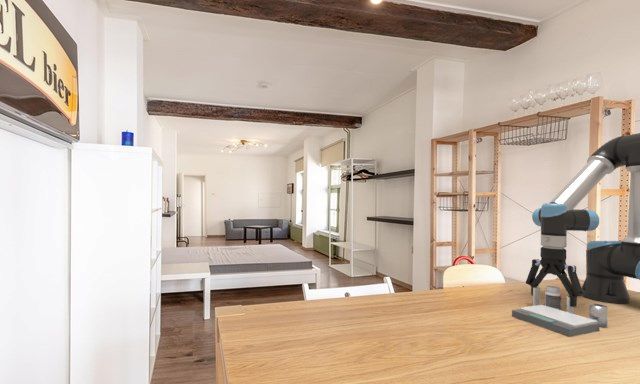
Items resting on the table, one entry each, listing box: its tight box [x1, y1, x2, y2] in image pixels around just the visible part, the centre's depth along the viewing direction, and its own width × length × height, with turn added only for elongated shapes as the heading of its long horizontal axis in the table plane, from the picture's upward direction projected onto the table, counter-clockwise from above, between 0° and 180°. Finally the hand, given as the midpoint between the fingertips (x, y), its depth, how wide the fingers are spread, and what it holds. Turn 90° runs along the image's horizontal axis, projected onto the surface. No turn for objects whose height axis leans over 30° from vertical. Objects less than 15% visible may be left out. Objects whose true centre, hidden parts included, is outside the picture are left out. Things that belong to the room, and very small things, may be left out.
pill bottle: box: [544, 285, 562, 310], centre depth 121 cm, size 5×5×8 cm
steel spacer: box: [588, 303, 608, 328], centre depth 108 cm, size 4×4×6 cm
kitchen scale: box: [511, 304, 600, 338], centre depth 109 cm, size 14×18×3 cm
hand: (552, 310), depth 121 cm, fingers open, 11 cm apart
